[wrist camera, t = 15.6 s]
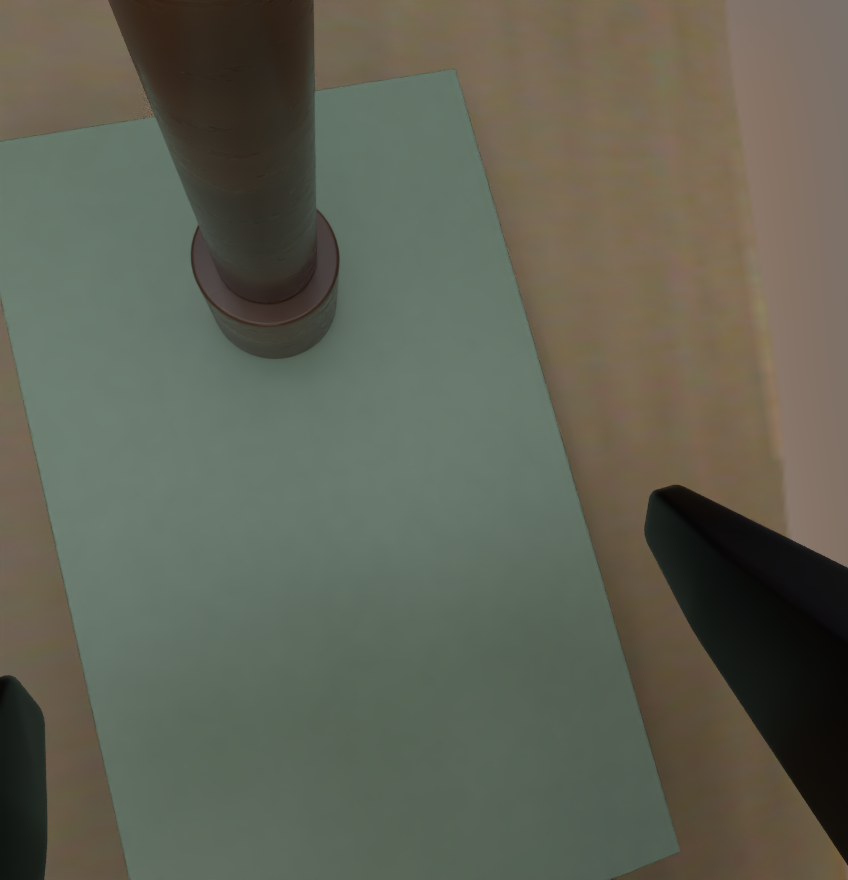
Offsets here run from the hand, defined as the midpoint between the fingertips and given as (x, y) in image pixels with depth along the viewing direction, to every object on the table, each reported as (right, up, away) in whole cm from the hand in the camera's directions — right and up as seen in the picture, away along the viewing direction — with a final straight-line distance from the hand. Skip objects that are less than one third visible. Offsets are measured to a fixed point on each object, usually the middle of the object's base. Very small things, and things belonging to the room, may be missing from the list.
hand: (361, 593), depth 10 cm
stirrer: (-3, +6, +8) cm, 11 cm away
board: (-2, 0, +9) cm, 10 cm away
